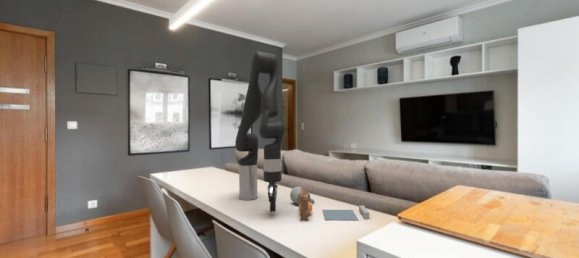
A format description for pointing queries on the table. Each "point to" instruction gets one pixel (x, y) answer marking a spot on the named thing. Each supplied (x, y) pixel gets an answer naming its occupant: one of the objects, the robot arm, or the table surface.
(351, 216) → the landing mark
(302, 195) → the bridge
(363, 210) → the stopper
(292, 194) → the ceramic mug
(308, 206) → the ball
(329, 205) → the table surface
